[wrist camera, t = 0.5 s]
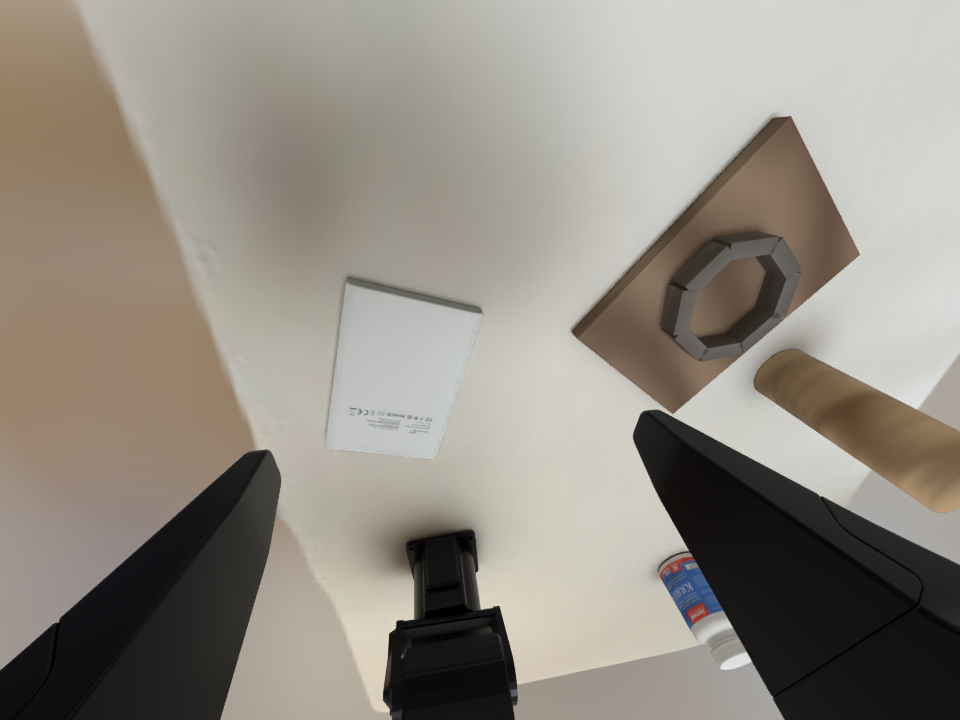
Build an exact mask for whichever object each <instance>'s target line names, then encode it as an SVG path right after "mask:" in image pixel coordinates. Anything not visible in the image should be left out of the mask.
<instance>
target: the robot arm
mask: <svg viewBox="0 0 960 720" xmlns="http://www.w3.org/2000/svg"><path fill="white" fill-rule="evenodd" d="M633 440H634V443H635V445H636V448H637V450H638V452H639V454H640V457H641V459H642V461H643V463H644V466H645V468H646V470H647V472H648V475H649V477H650V479H651V481H652V484H653V486H654V488H655V490H656V492H657V494H658V496H659V498H660V500H661V502H662V504H663V505H664V507H665V509H666V511H667V512H668V514H669V516H670V518H671V520H672V521H673V523H674V525H675V527H676V528H677V530H678V532H679V534H680V535H681V537H682V539H683V541H684V542H685V544H686V546H687V548H688V550H689V551H690V553H691V555H692V557H693V558H694V560H695V562H696V564H697V565H698V567H699V569H700V571H701V572H702V574H703V576H704V578H705V580H706V581H707V583H708V585H709V587H710V588H711V590H712V592H713V594H714V595H715V597H716V599H717V601H718V602H719V604H720V606H721V608H722V610H723V611H724V613H725V615H726V617H727V618H728V620H729V622H730V624H731V625H732V627H733V629H734V631H735V632H736V634H737V636H738V638H739V640H740V641H741V643H742V645H743V647H744V648H745V650H746V652H747V654H748V655H749V657H750V659H751V661H752V662H753V664H754V666H755V668H756V670H757V671H758V673H759V675H760V677H761V678H762V680H763V682H764V683H765V685H766V687H767V689H768V691H769V692H770V694H771V695H772V696H773V700H774V702H775V704H776V705H777V707H778V709H779V711H780V712H781V714H782V716H783V718H784V719H785V720H960V565H959V564H957V563H955V562H953V561H951V560H949V559H947V558H944V557H942V556H940V555H938V554H936V553H934V552H932V551H930V550H928V549H926V548H924V547H921V546H919V545H917V544H915V543H913V542H911V541H909V540H907V539H905V538H903V537H900V536H899V535H897V534H895V533H893V532H890V531H888V530H886V529H884V528H882V527H880V526H878V525H876V524H874V523H872V522H870V521H868V520H866V519H864V518H863V517H861V516H859V515H857V514H855V513H853V512H851V511H849V510H847V509H845V508H843V507H841V506H839V505H838V504H836V503H834V502H832V501H830V500H828V499H826V498H824V497H822V496H819V495H818V494H817V493H815V492H813V491H811V490H809V489H807V488H805V487H804V486H802V485H800V484H798V483H796V482H794V481H792V480H790V479H789V478H787V477H785V476H783V475H781V474H779V473H777V472H775V471H773V470H772V469H770V468H768V467H766V466H764V465H762V464H760V463H758V462H756V461H755V460H753V459H751V458H749V457H747V456H745V455H743V454H741V453H740V452H738V451H736V450H734V449H732V448H730V447H728V446H726V445H724V444H723V443H721V442H719V441H717V440H715V439H713V438H711V437H709V436H708V435H706V434H704V433H702V432H700V431H698V430H696V429H694V428H692V427H691V426H689V425H687V424H685V423H683V422H681V421H679V420H677V419H675V418H674V417H672V416H670V415H668V414H666V413H664V412H662V411H660V410H647V411H643V412H642V413H641V414H640V417H639V419H638V422H637V425H636V427H635V430H634V433H633ZM280 487H281V474H280V472H279V469H278V467H277V464H276V462H275V459H274V457H273V454H272V453H271V451H269V450H257V451H250V452H248V453H246V454H244V455H243V456H242V457H241V458H240V459H239V460H238V461H237V462H235V463H234V464H233V465H232V466H231V467H230V468H229V469H228V470H226V471H225V472H224V473H223V474H222V475H221V476H220V477H219V478H217V479H216V480H215V481H214V482H213V483H212V484H211V485H209V486H208V487H207V488H206V489H205V490H204V491H203V492H202V493H200V494H199V496H197V497H196V498H195V499H194V500H193V501H192V502H190V503H189V504H188V505H187V506H186V507H185V508H184V509H183V510H181V511H180V512H179V513H178V514H177V515H176V516H175V517H173V518H172V519H171V520H170V521H169V522H168V523H167V524H166V525H165V526H164V527H162V528H161V529H160V530H159V531H158V532H157V533H155V534H154V535H153V536H152V537H151V538H150V539H149V540H148V541H146V542H145V543H144V544H143V545H142V546H141V547H140V548H139V549H137V550H136V551H135V552H134V553H133V554H132V555H131V556H129V558H127V559H126V560H125V561H124V562H123V563H122V564H121V565H119V566H118V567H117V568H116V569H115V570H114V571H113V572H112V573H110V574H109V575H108V576H107V577H106V578H105V579H104V580H103V581H102V582H100V583H99V584H98V585H97V586H96V587H95V588H93V589H92V590H91V591H90V592H89V593H88V594H87V595H86V596H84V597H83V598H82V599H81V600H80V601H79V602H78V603H77V604H75V605H74V606H73V607H72V608H71V609H70V610H69V611H68V612H66V613H65V614H64V615H63V616H62V617H61V618H60V620H59V623H54V624H53V625H52V626H50V628H48V629H47V630H46V631H45V632H44V633H43V634H41V635H40V636H39V637H38V638H37V639H36V640H35V641H33V642H32V643H31V644H30V645H29V646H28V647H27V648H26V649H24V650H23V651H22V652H21V653H20V654H19V655H17V656H16V657H15V658H14V659H13V660H12V661H11V662H10V663H8V664H7V665H6V666H5V667H4V668H3V669H1V670H0V720H220V719H221V715H222V711H223V708H224V705H225V701H226V698H227V695H228V691H229V688H230V684H231V681H232V678H233V674H234V671H235V667H236V664H237V660H238V657H239V653H240V650H241V647H242V643H243V640H244V636H245V633H246V629H247V626H248V623H249V620H250V616H251V613H252V609H253V606H254V602H255V599H256V596H257V592H258V589H259V585H260V582H261V579H262V575H263V571H264V568H265V565H266V561H267V557H268V554H269V549H270V544H271V538H272V533H273V527H274V521H275V516H276V510H277V504H278V498H279V493H280ZM406 552H407V556H408V559H409V563H410V567H411V571H412V575H413V578H414V620H408V621H403V620H399V621H397V623H396V629H395V630H394V631H392V632H391V633H389V647H388V660H387V668H386V675H385V683H384V690H383V701H384V702H385V704H386V705H387V706H388V707H389V708H390V716H392V720H515V718H514V712H513V706H516V705H517V700H518V698H517V697H518V694H517V680H516V673H515V666H514V661H513V656H512V652H511V648H510V644H509V641H508V637H507V633H506V629H505V625H504V622H503V618H502V614H501V610H500V606H495V607H493V608H490V609H483V610H481V608H480V601H479V594H478V587H477V580H476V572H478V561H477V550H476V539H475V533H474V532H473V531H468V532H463V533H457V534H451V535H446V536H440V537H434V538H429V539H423V540H417V541H412V542H408V543H407V544H406Z"/></svg>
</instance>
